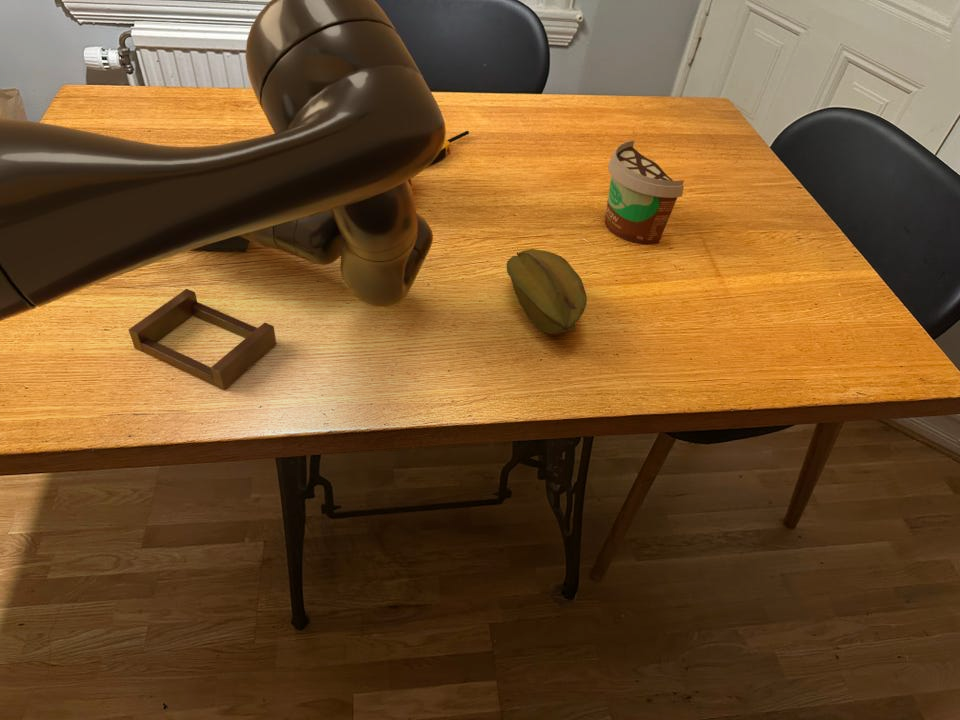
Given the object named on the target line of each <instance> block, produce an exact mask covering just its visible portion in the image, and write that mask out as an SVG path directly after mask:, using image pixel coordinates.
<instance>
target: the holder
mask: <svg viewBox="0 0 960 720" xmlns="http://www.w3.org/2000/svg"><path fill="white" fill-rule="evenodd" d="M197 298H198V297H197V294H196V292H195V291H193V290H190V289H189V288H185V289H184V290H183V291H181V292H180V293H178V294H176V295H175V296H174V297H173V298H171V299H169V300H168V301H166V302H165V303H164V304H162V305H161V306H160V307H158V308H157V309H155V310H154V311H152V312H151V313H150V314H148V315H147V316H145V317H144V318H143V319H141V320H140V321H139V322H136V324H134V325H133V326H131V327H130V328H129V329H128V333H129V335H130V338H131V342H132V344H133V348H134V349H136V350H138V351H139V352H142V353H145V354H146V355H148V356H151V357H153V358H156V359H158V360H160V361H161V362H164V363H166V364H168V365H171V366H172V367H175V368H176V369H179V370H181V371H183V372H185V373H187V374H189V375H192V376H193V377H196V378H197V379H200V380H202V381H204V382H206V383H208V384H210V385H213V386H215V387H217V388H219V389H221V390H223V391H225V390H226V389H227V388H228V387H230V386H231V385H232V384H233V383H234V382H235V381H236V380H238V378H240V377H241V376H242V375H243V374H244V373H245V372H246V371H248V370H249V369H250V368H251V367H252V366H253V365H254V364H255V363H256V362H258V361H259V360H260V359H261V358H263V356H265V354H267V353H268V352H269V351H270V350H272V348H273V347H274V346H276V345H277V339H276V332H275V326H274V325H272V324H271V323H268V322H263V323H262V324H261V325H260V326H259V327H257V326H254V325H252V324H250V323H247V322H245V321H243V320H240V319H237V318H236V317H233V316H231V315H228V314H226V313H224V312H222V311H219V310H217V309H215V308H212V307H211V306H208V305H205V304H203V303H200V302H198V299H197ZM192 316H195V317H197V318H199V319H202V320H204V321H206V322H208V323H210V324H213V325H215V326H218V327H220V328H222V329H224V330H227V331H229V332H231V333H234V334H236V335H238V336H239V337H242V338H244V339H243V340H242V341H240V342H239V343H238V344H237V345H236V346H235V347H233V348H232V349H231V350H230V351H228V353H226V354H225V355H224V356H223V357H221V358H220V359H219V360H218V361H217V362H216V363H214V364H213V365H212V366H209V365H207V364H205V363H202V362H201V361H198V360H196V359H193V358H191V357H190V356H187V355H185V354H183V353H181V352H178V351H177V350H174V349H172V348H170V347H168V346H166V345H164V344H162V343H160V342H159V341H160V340H162V339H163V338H164V337H166V336H167V335H168V334H170V333H171V332H172V331H173V330H175V329H176V328H177V327H179V326H180V325H182V324H183V323H185V322H186V321H187V320H188V319H189V318H191V317H192Z"/></svg>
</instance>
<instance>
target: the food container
mask: <svg viewBox="0 0 960 720" xmlns="http://www.w3.org/2000/svg"><path fill="white" fill-rule="evenodd" d="M634 145H635V139H632V140H627V141H625V142H623V143H621V144H620V145H618V146H617V148H616V149H615V150H614V151H613V153H612V154H611V155H612V156H611V158H610V160H609V161H608V165H607V169H608V173H609V175H610V176H611V177H610V184H609V188H608V189H609V190H608V196H607V203H606V209H605V217H604V225H605V226H606V228H607V230H608V231H609V232H610V233H612V234H613V235H614V236H616V237H618V238H620V239H622V240H624V241H627V242H630V243H634V244H641V245H655V244H659V243H660V241H661V238H662V236H663V234H664V231H665V229H666V226H667V225H668V222H669V220H670V217H671V214H672V211H673V210H674V207H675V205H676V202H677V200H678V198H682V197H683V193H684V189H685V188H684V187H685V185H684V182H685V180H684V179H681V180H674V179H672V178H671V177H670V176H669V175H668V174H667V173H666V172H665V171H664V170H663V169H662V167H660V165H659V164H658V163H656V162H655V161H653V160H652V159H650V158H648V157H646V156H644V155H643V154H641V153H640V152H639V151H638V150H637V149H636V148H634Z"/></svg>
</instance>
